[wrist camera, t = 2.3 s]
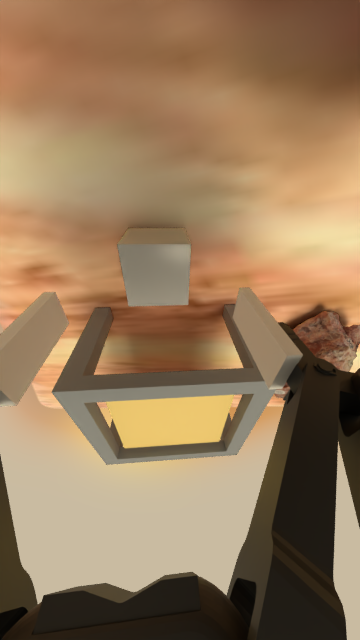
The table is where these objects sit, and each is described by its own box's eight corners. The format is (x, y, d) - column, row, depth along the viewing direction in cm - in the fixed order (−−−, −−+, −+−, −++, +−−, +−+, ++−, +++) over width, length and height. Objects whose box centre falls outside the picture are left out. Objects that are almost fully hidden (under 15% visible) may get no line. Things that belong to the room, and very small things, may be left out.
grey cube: (128, 227, 20) (117, 244, 15) (184, 227, 20) (191, 244, 15) (136, 279, 23) (128, 306, 19) (183, 279, 24) (188, 304, 19)
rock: (425, 329, 19) (401, 415, 25) (347, 289, 28) (345, 359, 35) (265, 366, 22) (282, 432, 29) (244, 320, 32) (260, 377, 39)
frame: (95, 307, 25) (51, 392, 15) (238, 304, 27) (281, 380, 17) (121, 389, 38) (106, 464, 28) (218, 384, 39) (236, 454, 29)
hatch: (104, 384, 20) (101, 392, 19) (234, 377, 20) (237, 385, 20) (125, 440, 28) (124, 448, 27) (217, 434, 29) (219, 441, 28)
